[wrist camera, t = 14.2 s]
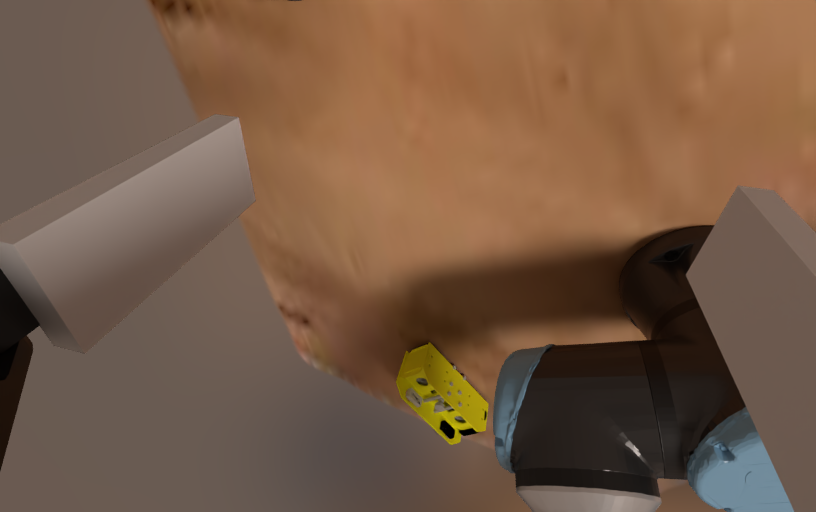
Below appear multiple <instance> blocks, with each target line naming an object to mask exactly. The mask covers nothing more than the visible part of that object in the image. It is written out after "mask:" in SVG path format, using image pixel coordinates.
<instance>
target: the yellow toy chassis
mask: <svg viewBox="0 0 816 512" xmlns="http://www.w3.org/2000/svg"><path fill="white" fill-rule="evenodd" d="M396 384H397V387H398V390H399V393H400V396H401V398H402V399H403V400H404V401H405V402H406V403H407V404H408V405H409V406H410V407H411V408H412V409H413V410H414V411H415V412H416V413H417V414H418V415H420V416H421V417H422V418H423V419H424V420H425V421H426V422H427V423H428V424H429V425H430V426H431V427H432V428H433V429H434V430H435V431H436V432H437V433H439V434H440V435H441V436H442V437H443V438H444V439H445V440H446V441H447V442H448V443H449V444H450V445H453V444H456V443H459V442H460V440H461V435H463V436H466V435H471V434H476V433H478V432H481V431H486V421H487V412H488V403H487V402H486V401H485V400H484V399H483V398H482V397H481V396H480V394H479V393H478V392H477V391H476V390H475V389H474V388H473V387H472V386H471V385H470V384H469V383H468V382H467V381H466V377H465V376H464V377H462V375H461V374H460V373H459V372H458V371H457V370H456V366H452V365H451V364H450V363H449V362H448V361H447V360H446V359H445V358H444V356H443V355H442V354H441V353H440V352H439V351H438V350H437V349H436V348H435V347H434V346H433V345H432V344H431V343H430V342H429V343H428V345H424V346H421V347H418V348H416V349H413V350H412V351H411V352H410V353H409V352H408V351H406V352H405V355H404V358H403V362H402V365H401V368H400V371H399V374H398V377H397V380H396ZM406 390H407V393H406ZM406 397H407V398H408V399H409V400H410V401H411V402H409V401H408V400H407V398H406ZM445 402H446V403H445ZM446 436H448V437H449V438H450V439H448V438H447V437H446Z"/></svg>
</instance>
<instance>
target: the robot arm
mask: <svg viewBox="0 0 816 512" xmlns="http://www.w3.org/2000/svg"><path fill="white" fill-rule="evenodd" d="M255 201H256V200H255V195H254V190H253V185H252V180H251V175H250V170H249V165H248V160H247V156H246V151H245V146H244V141H243V136H242V131H241V126H240V121H239V117H233V116H226V115H218V114H214V115H212V116H210V117H208V118H207V119H205V120H203V121H201V122H199V123H197V124H195V125H193V126H191V127H189V128H187V129H185V130H183V131H181V132H180V133H177V134H175V135H173V136H171V137H170V138H168V139H166V140H164V141H162V142H160V143H158V144H156V145H154V146H152V147H150V148H148V149H146V150H144V151H142V152H140V153H138V154H136V155H134V156H133V157H131V158H129V159H127V160H125V161H123V162H121V163H119V164H117V165H115V166H113V167H111V168H109V169H107V170H105V171H104V172H101V173H99V174H97V175H95V176H93V177H92V178H90V179H88V180H86V181H84V182H82V183H80V184H78V185H76V186H74V187H72V188H70V189H68V190H66V191H64V192H62V193H60V194H58V195H56V196H54V197H53V198H51V199H49V200H47V201H45V202H43V203H41V204H39V205H37V206H35V207H33V208H31V209H29V210H27V211H25V212H23V213H21V214H19V215H17V216H15V217H14V218H12V219H10V220H8V221H6V222H4V223H2V224H0V470H1V466H2V463H3V459H4V456H5V452H6V448H7V445H8V441H9V437H10V433H11V429H12V426H13V423H14V419H15V415H16V411H17V408H18V404H19V400H20V396H21V393H22V389H23V386H24V382H25V378H26V374H27V371H28V367H29V364H30V360H31V356H32V353H33V344H32V342H31V341H30V339H29V338H28V337H27V334H29V333H30V332H31V331H33V330H34V329H35V328H37V327H38V326H40V327H41V328H42V330H43V331H44V332H45V334H46V335H47V337H48V338H49V339H50V341H51V342H52V344H53V345H54V346H57V347H60V348H64V349H68V350H72V351H76V352H80V353H84V354H85V353H86V352H87V351H88V350H89V349H91V348H92V347H93V346H94V345H95V344H96V343H97V342H98V341H100V340H101V339H102V338H103V337H104V336H105V335H106V334H107V333H109V332H110V331H111V330H112V329H113V328H114V327H115V326H116V325H117V324H119V323H120V322H121V321H122V320H123V319H124V318H125V317H126V316H128V315H129V314H130V313H131V312H132V311H133V310H134V309H135V308H136V307H138V306H139V305H140V304H141V303H142V302H143V301H144V300H145V299H146V298H148V297H149V296H150V295H151V294H152V293H153V292H154V291H155V290H157V289H158V288H159V287H160V286H161V285H162V284H163V283H164V282H165V281H167V280H168V279H169V278H170V277H171V276H172V275H173V274H174V273H175V272H177V271H178V270H179V269H180V268H181V267H182V266H183V265H184V264H185V263H187V262H188V261H189V260H190V259H191V258H192V257H193V256H194V255H196V254H197V253H198V252H199V251H200V250H201V249H202V248H203V247H205V246H206V245H207V244H208V243H209V242H210V241H211V240H212V239H213V238H214V237H216V236H217V235H218V234H219V233H220V232H221V231H222V230H224V229H225V228H226V227H227V226H228V225H229V224H230V223H231V222H232V221H234V220H235V219H236V218H237V217H238V216H239V215H240V214H241V213H243V212H244V211H245V210H246V209H247V208H248V207H249V206H250V205H251V204H253V203H254V202H255ZM619 293H620V297H621V301H622V305H623V308H624V310H625V313H626V315H627V316H628V318H629V319H630V320H631V322H632V323H633V324H634V325H635V326H636V327H637V328H638V329H640V331H641V332H642V333H643V335H644V336H645V337H646V338H647V340H643V341H623V342H608V343H594V344H575V345H554V344H549V345H546V346H544V347H538V348H529V349H521V350H517V351H515V352H513V353H512V354H510V355H509V357H508V358H507V359H506V360H505V362H504V364H503V365H502V368H501V370H500V373H499V377H498V381H497V386H496V391H495V399H494V412H493V432H494V435H495V436H496V437H495V451H496V455H497V459H498V461H499V463H500V465H501V466H502V467H503V468H504V469H506V470H508V471H509V472H510V473H515V476H516V492H517V494H518V495H519V496H520V497H521V498H522V499H523V501H524V502H525V503H526V504H527V505H528V506H529V507H530V509H531V510H532V512H655V511H656V509H657V508H658V507H659V505H660V504H661V498H660V493H659V488H658V483H657V479H658V478H664V479H683V480H688V482H689V485H690V486H691V487H692V489H693V490H694V491H695V492H696V494H697V495H698V496H699V498H700V499H702V500H703V501H704V502H706V503H707V504H708V505H710V506H712V507H714V508H717V509H721V508H724V510H725V511H727V512H816V233H815V232H814V231H813V229H812V228H811V227H810V226H809V225H808V224H807V223H806V222H805V221H804V220H803V219H802V218H801V217H800V216H799V215H798V214H797V213H796V212H795V211H794V210H793V209H792V208H791V207H790V206H789V205H788V204H787V203H786V202H785V201H784V200H783V199H782V198H781V197H780V196H779V195H778V194H777V193H776V192H775V191H774V190H767V189H760V188H752V187H745V186H737V188H736V190H735V191H734V193H733V195H732V196H731V198H730V200H729V202H728V203H727V205H726V207H725V208H724V210H723V212H722V214H721V215H720V217H719V219H718V220H717V222H716V224H715V226H703V227H693V228H687V229H682V230H678V231H675V232H672V233H669V234H666V235H664V236H661V237H659V238H657V239H655V240H653V241H651V242H650V243H648V244H647V245H645V246H644V247H642V248H641V249H640V250H639V251H637V252H636V253H635V254H634V255H633V256H632V257H631V259H630V260H629V261H628V262H627V264H626V265H625V267H624V269H623V271H622V273H621V276H620V280H619Z"/></svg>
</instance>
